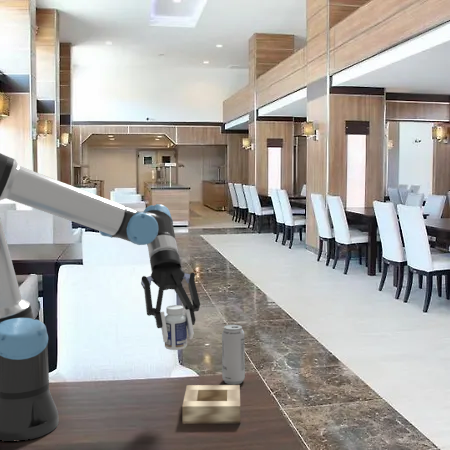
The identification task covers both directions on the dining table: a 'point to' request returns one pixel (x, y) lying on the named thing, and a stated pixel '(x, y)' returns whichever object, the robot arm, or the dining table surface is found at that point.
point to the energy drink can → (233, 354)
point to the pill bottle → (176, 328)
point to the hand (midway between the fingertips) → (178, 337)
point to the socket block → (211, 404)
